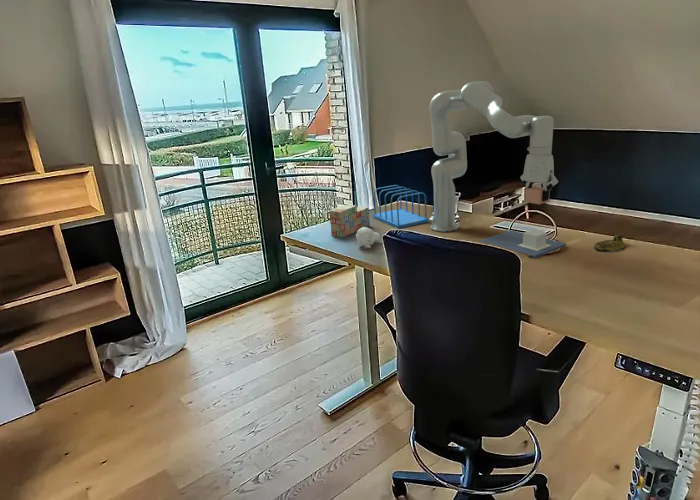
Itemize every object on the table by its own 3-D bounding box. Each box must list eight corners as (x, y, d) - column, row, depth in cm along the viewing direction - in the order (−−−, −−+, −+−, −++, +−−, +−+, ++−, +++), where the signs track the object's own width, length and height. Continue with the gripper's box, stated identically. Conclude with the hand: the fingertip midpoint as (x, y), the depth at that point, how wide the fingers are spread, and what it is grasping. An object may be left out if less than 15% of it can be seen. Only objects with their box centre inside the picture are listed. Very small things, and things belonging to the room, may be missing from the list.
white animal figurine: (354, 227, 197) (372, 223, 205) (354, 247, 199) (372, 242, 207) (365, 229, 192) (384, 225, 201) (365, 249, 195) (383, 244, 203)
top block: (525, 201, 179) (526, 188, 178) (535, 199, 182) (536, 186, 181) (539, 204, 175) (540, 191, 173) (549, 201, 178) (550, 188, 176)
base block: (522, 245, 185) (523, 232, 183) (532, 241, 188) (533, 229, 186) (535, 248, 180) (536, 236, 179) (545, 245, 183) (546, 232, 182)
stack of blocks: (359, 224, 233) (358, 199, 229) (370, 225, 229) (368, 201, 225) (331, 236, 218) (329, 210, 214) (341, 237, 214) (339, 211, 210)
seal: (610, 258, 173) (631, 248, 181) (613, 246, 171) (634, 236, 179) (586, 249, 180) (608, 240, 188) (589, 238, 178) (610, 229, 186)
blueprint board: (479, 242, 195) (479, 240, 194) (510, 232, 205) (510, 229, 204) (533, 258, 174) (533, 255, 173) (565, 246, 184) (566, 243, 184)
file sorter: (372, 217, 243) (371, 188, 238) (401, 212, 249) (400, 183, 244) (398, 229, 221) (396, 197, 216) (428, 222, 228) (428, 191, 223)
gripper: (514, 150, 177) (511, 197, 183) (555, 154, 164) (551, 204, 169) (526, 148, 181) (524, 194, 187) (568, 151, 167) (564, 201, 173)
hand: (537, 198), depth 178 cm, fingers closed on top block, 6 cm apart
